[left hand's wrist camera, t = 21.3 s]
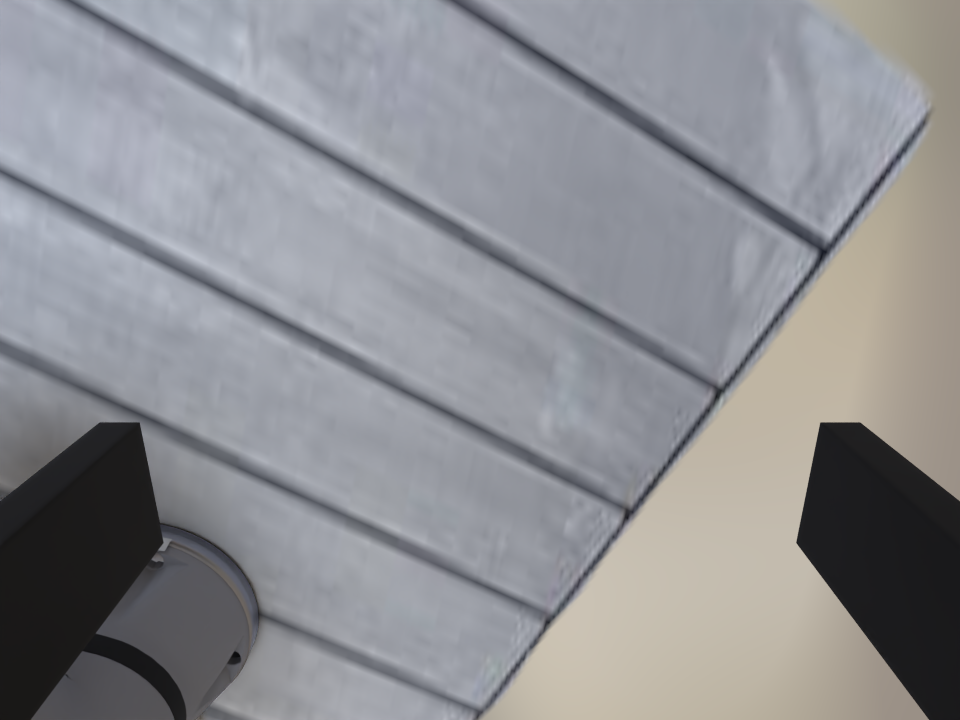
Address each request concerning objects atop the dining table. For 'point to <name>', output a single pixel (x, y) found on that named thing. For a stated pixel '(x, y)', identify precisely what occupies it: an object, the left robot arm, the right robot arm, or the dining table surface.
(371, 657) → the dining table surface
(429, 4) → the dining table surface
